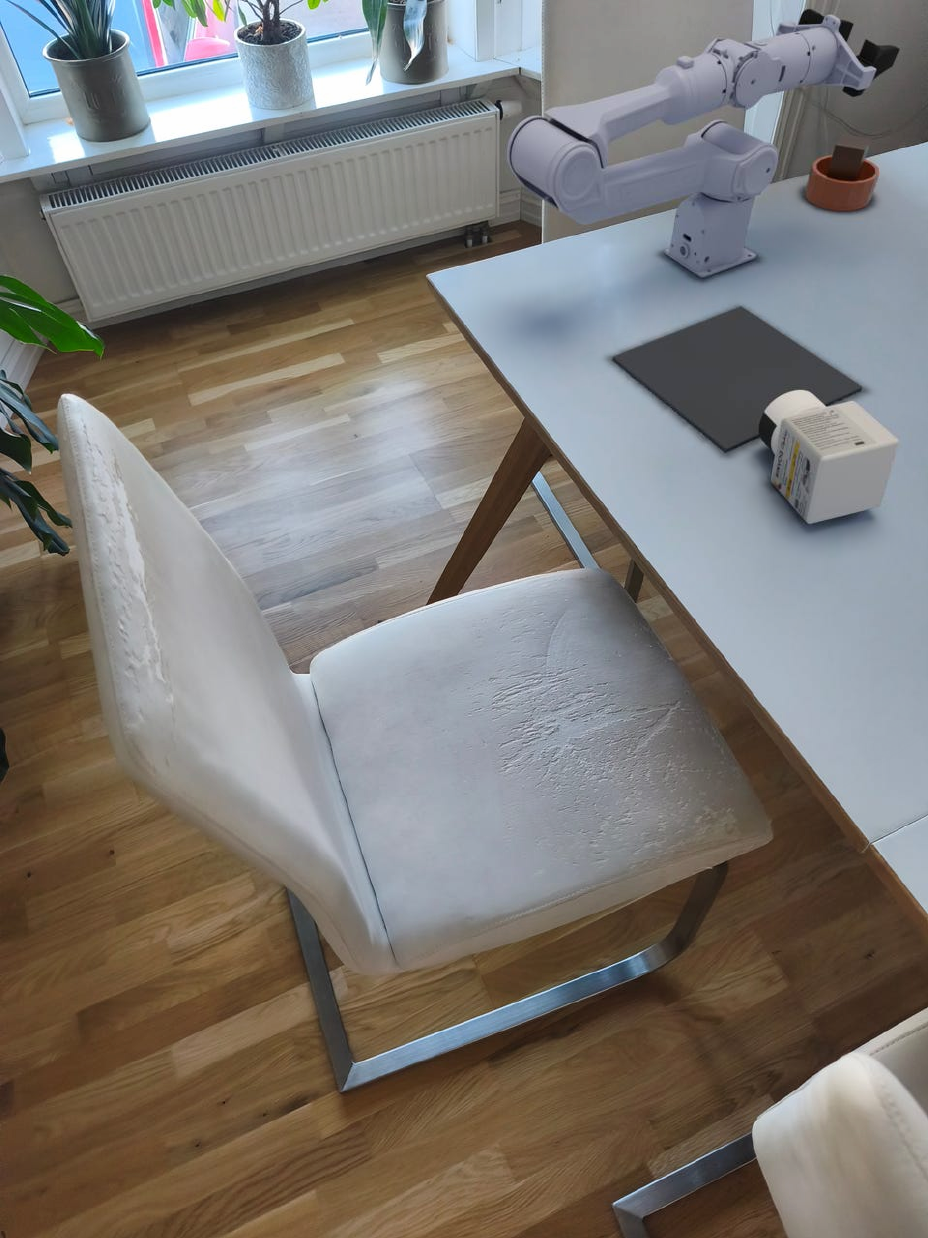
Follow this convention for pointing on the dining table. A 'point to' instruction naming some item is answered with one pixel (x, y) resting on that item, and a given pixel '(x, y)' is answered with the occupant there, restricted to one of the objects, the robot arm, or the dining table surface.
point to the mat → (731, 374)
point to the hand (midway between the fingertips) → (870, 43)
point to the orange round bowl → (840, 187)
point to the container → (827, 455)
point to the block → (848, 158)
